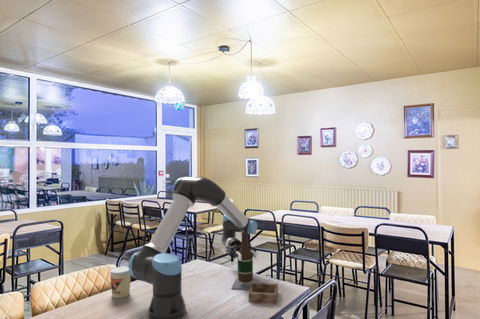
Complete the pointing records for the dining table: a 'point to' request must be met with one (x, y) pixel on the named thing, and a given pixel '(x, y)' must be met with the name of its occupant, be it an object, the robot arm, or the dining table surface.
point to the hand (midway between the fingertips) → (248, 256)
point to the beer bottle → (245, 261)
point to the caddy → (263, 293)
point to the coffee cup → (120, 282)
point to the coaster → (243, 285)
